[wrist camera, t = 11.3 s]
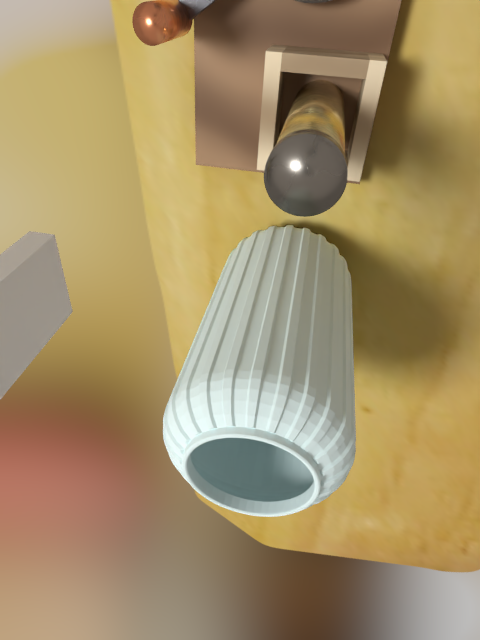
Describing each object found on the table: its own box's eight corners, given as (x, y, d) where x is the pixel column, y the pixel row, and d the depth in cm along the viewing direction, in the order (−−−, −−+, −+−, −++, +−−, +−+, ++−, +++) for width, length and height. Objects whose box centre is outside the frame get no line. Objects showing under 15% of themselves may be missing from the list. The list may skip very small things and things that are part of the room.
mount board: (198, -214, 24) (191, -224, 22) (446, -210, 22) (452, -221, 21) (200, 158, 36) (195, 164, 35) (358, 177, 35) (359, 183, 33)
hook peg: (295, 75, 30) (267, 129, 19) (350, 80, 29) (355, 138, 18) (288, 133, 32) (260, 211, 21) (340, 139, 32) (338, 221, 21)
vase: (269, 333, 46) (225, 542, 29) (205, 249, 41) (107, 440, 24) (372, 292, 41) (393, 519, 24) (312, 189, 36) (285, 381, 19)
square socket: (272, 44, 29) (265, 51, 26) (383, 53, 28) (387, 61, 25) (263, 154, 33) (256, 169, 31) (358, 165, 33) (359, 181, 30)
